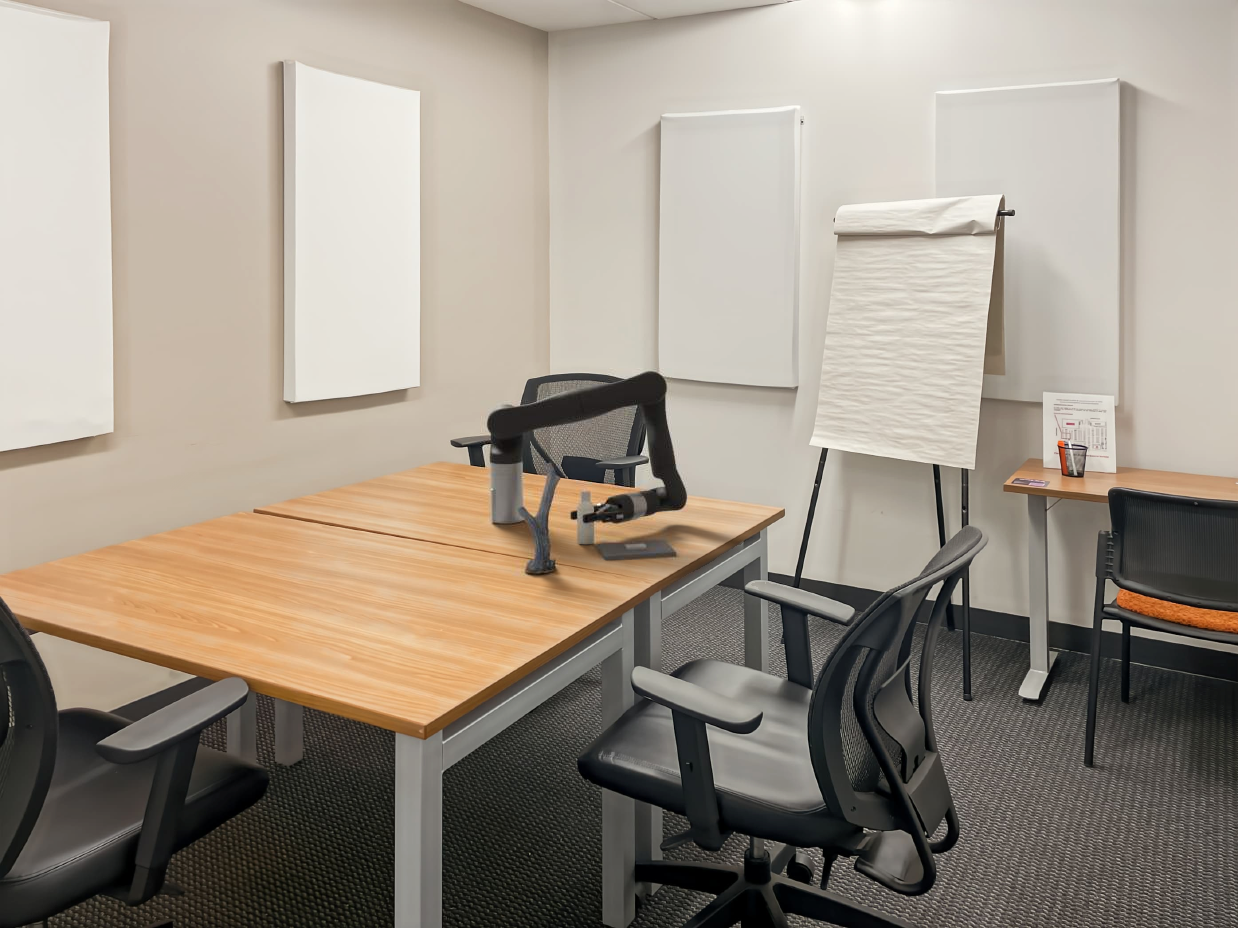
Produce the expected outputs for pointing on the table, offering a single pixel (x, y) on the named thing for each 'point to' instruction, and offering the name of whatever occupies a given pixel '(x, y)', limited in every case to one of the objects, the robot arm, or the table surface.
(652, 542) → the dock mat
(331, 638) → the table surface
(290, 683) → the table surface
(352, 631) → the table surface
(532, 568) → the bare tree trunk
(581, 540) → the white tabbed cylinder
